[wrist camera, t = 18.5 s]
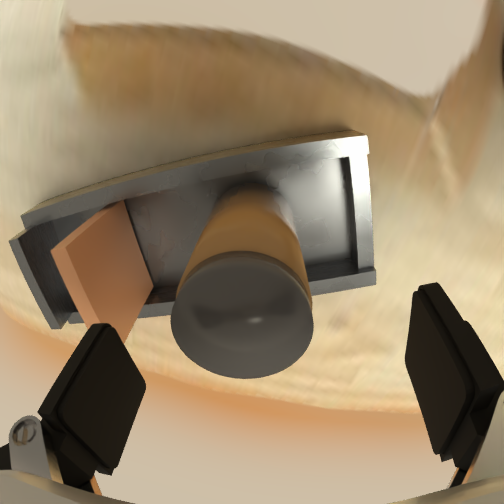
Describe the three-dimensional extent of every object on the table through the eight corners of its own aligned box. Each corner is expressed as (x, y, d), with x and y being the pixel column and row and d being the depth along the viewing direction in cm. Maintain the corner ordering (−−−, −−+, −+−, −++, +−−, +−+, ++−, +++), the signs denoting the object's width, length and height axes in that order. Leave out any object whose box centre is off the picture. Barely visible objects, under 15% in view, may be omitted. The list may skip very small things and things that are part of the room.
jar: (288, 177, 18) (312, 255, 9) (297, 254, 20) (318, 373, 11) (203, 189, 19) (148, 275, 10) (219, 264, 21) (190, 383, 12)
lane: (352, 130, 18) (379, 139, 13) (363, 261, 22) (385, 303, 17) (43, 201, 20) (3, 227, 16) (85, 302, 24) (58, 340, 20)
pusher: (123, 198, 19) (65, 247, 13) (153, 286, 22) (118, 355, 15) (110, 202, 19) (50, 250, 13) (141, 288, 22) (103, 356, 16)
